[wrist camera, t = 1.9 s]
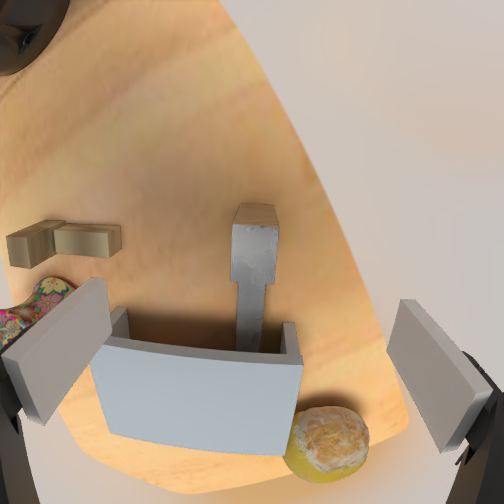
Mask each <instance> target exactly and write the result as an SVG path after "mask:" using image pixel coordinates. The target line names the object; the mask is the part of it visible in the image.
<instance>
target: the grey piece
mask: <svg viewBox="0 0 504 504" xmlns="http://www.w3.org/2000/svg"><path fill="white" fill-rule="evenodd" d="M278 235H279V225H278V220H277V216H276V212H275V208H274V205H263V204H248V203H241V204H240V207H239V209H238V212H237V214H236V217H235V219H234V222H233V226H232V247H231V270H230V282H238V302H237V323H236V344H235V351H237V352H252V353H260V343H261V332H262V321H263V309H264V298H265V286H266V284H273V285H274V279H275V268H276V257H277V246H278Z"/></svg>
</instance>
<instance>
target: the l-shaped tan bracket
mask: <svg viewBox="0 0 504 504" xmlns="http://www.w3.org/2000/svg"><path fill="white" fill-rule="evenodd" d="M6 239H7V247H8V254H9V260H10V266H14V267H21V268H28V269H32V268H33V267H35V266H36V265H38V264H40V263H41V262H43V261H45V260H46V259H48V258H50V257H52V256H53V255H55V254H57V253H59V254H70V255H81V256H92V257H103V258H110V257H111V256H113V255H114V254H115V253H117V252H118V251H119V250H121V249H122V247H121V226H113V225H91V224H67V225H65V221H59V220H44V221H42V222H39V223H37V224H34V225H32V226H29V227H27V228H24V229H22V230H20V231H17V232H15V233H12V234H10V235H8V236H6Z"/></svg>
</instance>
